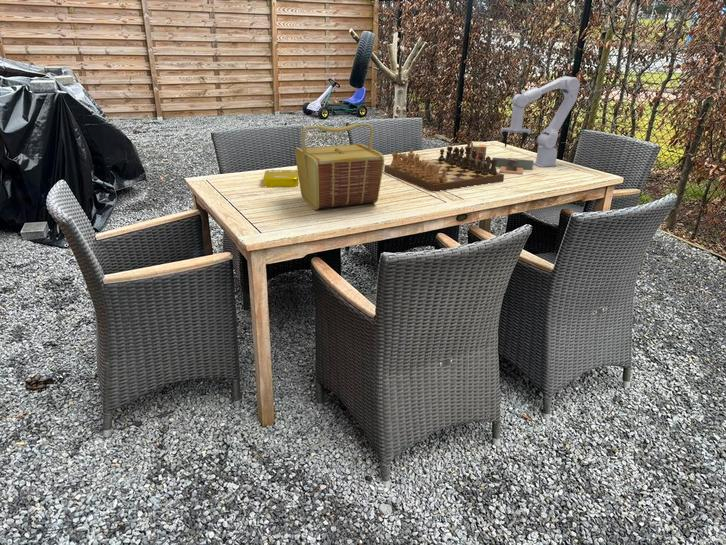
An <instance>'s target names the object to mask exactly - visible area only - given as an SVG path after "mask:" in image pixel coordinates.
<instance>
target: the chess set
mask: <svg viewBox="0 0 726 545" xmlns="http://www.w3.org/2000/svg"><path fill="white" fill-rule="evenodd" d="M470 144H471V141H468V142H467V144H466V146H465V147H463V146H461V147H460V149H459V147H457V146H455V147H454V148H453V146H447V147H446V152H445V149H444V148H441V149H440V151H439V152H440V153H439V157H438V158H435V159H421V156H420V155H419V153H415V152H414V150H413V147H412V148H410V149H409V152H408V153H406V152H405V153H401V152H399V153H398V152H392V153H391V157H392V161H391V163H390V164H385V165H384V168H383V172H384V173H387V174H389V175H391V176H394V177H396V178H399V179H401V180H403V181H406V182H408V183H410V184H412V183H413V185H415V186H417V185H418V186H417V187H420V188H422V187H423V188H422V189H424V188H426V189H425V190H427V189H428V190H427V191H429V190H431V191H438V192H441V191H440V190H444V191H448V190H447V189H451V190H454V189H453V188H457V189H462V188H461V187H464V188H468V187H467V186H470V187H475V186H474V185H477V186H482V184H483V185H487V184H488V183H490V184H495V183H503V182H504V179H505V173H499V172H498V171H497V167H496V164H497V160H492V158H491V156H489V155H487V156H485V160H483V158H484V155H483V153H481V154H480V155H479V160H478V161H477V164H478V165H477V164H476V161H475V157H476V156H477V154H476V152H477V150H476V149H475V147H474V149H473V150H471V148H472V147H470ZM470 150H471V151H472V155H471V156H472V158H471V159H470V158H469V154H471V152H470ZM445 153H446V155H445ZM444 155H445V156H444ZM464 155H465V156H464ZM482 161H484V163H483V164H482ZM488 185H489V184H488ZM431 191H430V192H431Z"/></svg>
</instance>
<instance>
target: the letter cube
mask: <svg viewBox="0 0 726 545" xmlns="http://www.w3.org/2000/svg"><path fill="white" fill-rule="evenodd" d="M507 158H508V159H507V167H506V170H511V171H517V164H518V159H519V158H515V157H514V158H513V157H507Z"/></svg>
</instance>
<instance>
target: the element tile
mask: <svg viewBox="0 0 726 545" xmlns="http://www.w3.org/2000/svg"><path fill="white" fill-rule="evenodd" d="M298 185H299V186H300V184H299V177H298V170H297V169H280V170H279V169H278V170H277V169H267V170H265V171H264V175H263V187H264V186H267V187H266V188H296V186H297V187H299V186H298Z"/></svg>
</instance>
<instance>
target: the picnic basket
mask: <svg viewBox="0 0 726 545" xmlns="http://www.w3.org/2000/svg"><path fill="white" fill-rule="evenodd" d="M357 127H368V128H369V130H370V131H369V140H368V142H369V143H368V146H367V145H365V144H362V143H356V144H344V145H342V144H340V145H329V146H328V145H327V146H326V145H325V146H315V147H312V146H311V147H307V146H306V137H305V136H306V135H305V134H306V132H307V131H308V130H315V129H316V130H321V131H324V132H330V133H341V132H347V131H350V130H351V131H352V130H354V129H355V128H357ZM300 137H301V145H302V147H296V148H295V149H294V156H295V162H296V170H297V171H298V177H299V188H300V189H299V190H300V194H301V198H302V199H303V201H304V202H306V204H308V206H310V207H311V208H312V209H313V210H314V209H315V211H318V210H320V209H329V208H338V207H345V206H346V207H347V206H354V205H363V204H376V203H377V202H378V200H379V197H380V196H379V195H380V191H381V190H380V189H381V184H382V178H383V172H384V167H385V165H384V164H385V157H384V154H383V153H382V152H380V151H378V150H376V149H374V148H373V141H374V140H373V139H374V127H373V125H372V124H370V123H366V122H363V123H354V124H350V125H348V126H343V127H329V126H322V125H310V126H309V125H308V126H305V127H304V128H303V129H302V130H301V133H300Z"/></svg>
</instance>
